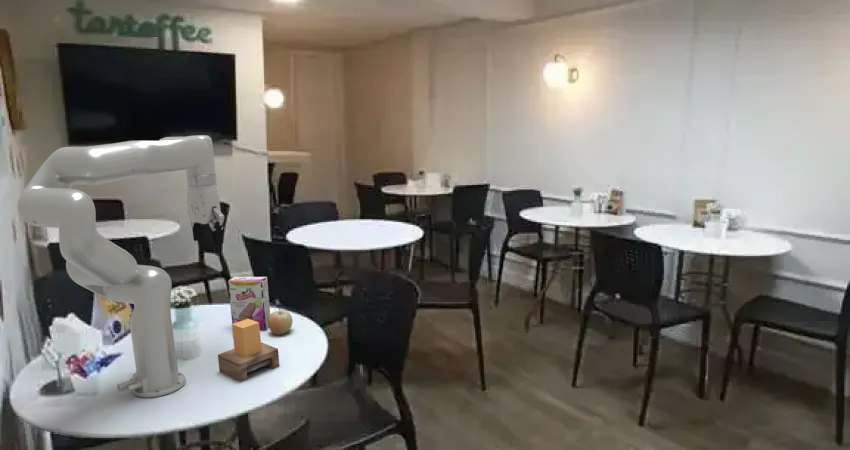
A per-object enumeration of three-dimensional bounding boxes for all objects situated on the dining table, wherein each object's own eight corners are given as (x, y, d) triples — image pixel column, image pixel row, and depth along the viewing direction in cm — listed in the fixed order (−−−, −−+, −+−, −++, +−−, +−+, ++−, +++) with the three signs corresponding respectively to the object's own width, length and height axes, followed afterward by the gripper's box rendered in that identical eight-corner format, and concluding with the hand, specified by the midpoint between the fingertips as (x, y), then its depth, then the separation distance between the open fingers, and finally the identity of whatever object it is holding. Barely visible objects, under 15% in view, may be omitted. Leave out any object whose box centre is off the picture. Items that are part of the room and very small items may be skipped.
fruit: (271, 329, 193) (269, 304, 191) (294, 327, 193) (292, 303, 191) (266, 338, 185) (264, 313, 183) (291, 336, 185) (288, 311, 184)
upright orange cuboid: (245, 357, 159) (242, 328, 158) (234, 352, 163) (231, 324, 161) (261, 350, 163) (259, 322, 161) (250, 346, 166) (248, 318, 165)
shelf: (240, 382, 156) (238, 364, 155) (219, 372, 163) (217, 354, 162) (279, 366, 165) (278, 348, 164) (258, 357, 172) (256, 340, 170)
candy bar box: (232, 330, 192) (226, 280, 189) (238, 325, 197) (233, 276, 194) (266, 331, 191) (261, 280, 188) (272, 325, 196) (267, 275, 192)
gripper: (173, 180, 170) (180, 240, 173) (205, 185, 159) (212, 249, 162) (198, 177, 175) (204, 235, 179) (231, 181, 164) (237, 243, 168)
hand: (208, 242), depth 170 cm, fingers open, 9 cm apart
